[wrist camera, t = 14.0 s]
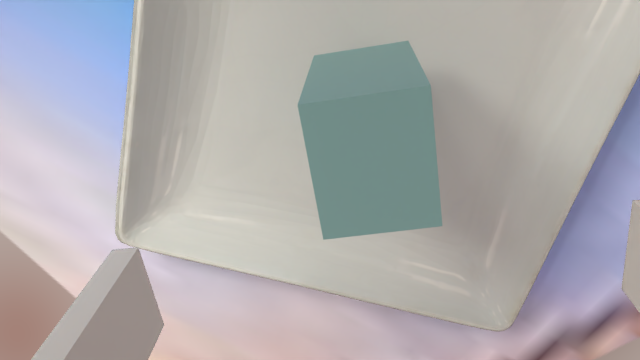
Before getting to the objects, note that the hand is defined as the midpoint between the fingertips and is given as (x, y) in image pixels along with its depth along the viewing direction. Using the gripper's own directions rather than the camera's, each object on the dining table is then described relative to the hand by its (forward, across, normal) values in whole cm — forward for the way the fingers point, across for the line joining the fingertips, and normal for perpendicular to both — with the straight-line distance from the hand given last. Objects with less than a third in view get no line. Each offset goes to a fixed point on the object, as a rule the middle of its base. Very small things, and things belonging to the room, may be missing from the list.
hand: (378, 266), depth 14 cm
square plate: (+20, 0, 0) cm, 20 cm away
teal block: (+16, 0, 0) cm, 16 cm away
